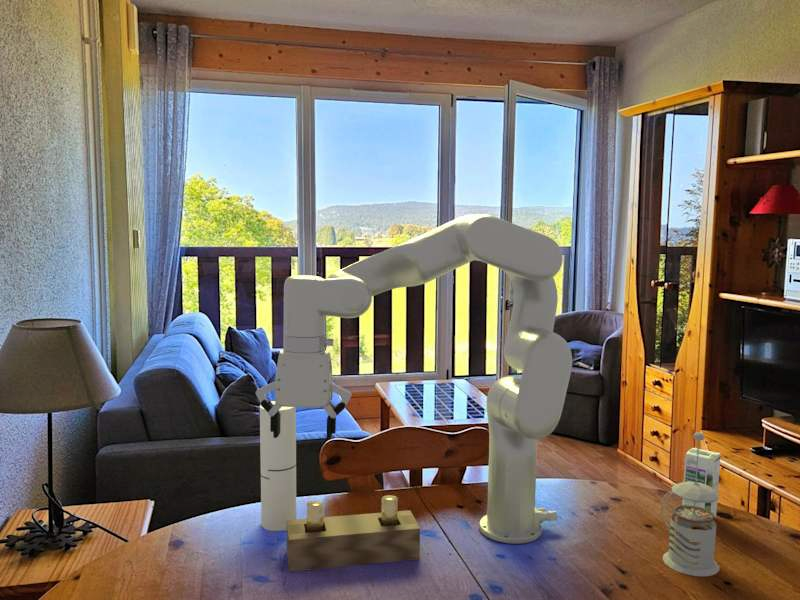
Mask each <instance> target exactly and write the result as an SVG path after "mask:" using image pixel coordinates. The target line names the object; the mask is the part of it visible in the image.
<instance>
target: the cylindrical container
mask: <svg viewBox="0 0 800 600" xmlns="http://www.w3.org/2000/svg"><path fill="white" fill-rule="evenodd" d="M270 402H271V403H272V404H273V405H274V404H275V403H276V402H275V400H273V401H271V400H270ZM279 412H280V414H281V419H280V434H279V436H278V437H277V438H274V437H273V432H271V431H270V423H271V416H269V414H268V412H267V411H266V410H265V409H264V408H263V407H262V406H261V404H260V405H259V441H260V445H259V450H260V453H259V455H260V456H259V457H260V511H261V512H260V513H261V514H260V515H261V516H260V520H261V521H260V522H261V524H260V525H261V527H262V528H263V529H265V530H266V531H271V532H281V531H282V532H283V531H287V520H297V436H296V435H297V431H296V429H297V423H296V420H297V417H296V414H297V413H296V412H297V407H284V406H282V407H281V408H280V409H279Z"/></svg>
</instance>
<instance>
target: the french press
mask: <svg viewBox="0 0 800 600" xmlns="http://www.w3.org/2000/svg"><path fill="white" fill-rule="evenodd" d="M692 438H693V439H694V440H696V441H697V448H698V449H697V464H696V480H695V482H691V481H688V482H684V481H683V482H679V483H676V484H674V485H672V487H671V491H669V492H667V493H665V494H664V496H663V497H662V499H661V506H660V510H661V515H662V519H663V520H664V523H665V524H666V526H667V527H668V528H669V541H668V542H669V543H668V550H667V552H664V554H663V556H662V561H663V562H664V564H665V565H666V566H668V567H669V568H670V569H672V570H674V571H676V572H678V573H681V574H684V575H689V576H694V577H710V576H713V575H716V574H717V573H719V571H720V565H719V564H718V563H717V561H716V559H715V558H714V557H715V550H716V545H715V544H716V536H717V535H716V534H717V522H716V521H715V519H716V517H715V515H714V514H713V513H712V512H711V511H709V510H707V509H704V508H701V507H698V506H697V507H696V506H695V502H697V503H711V502H715V501H717V502H718V501H719V499H720V494H719V492H718V493H717V492H716V491H715V490H714V489H712V488H711V487H710V486H707V485H705V484H702V483H698V482H697V468H698V453H699V449H700V448H699V447H700V441H704V440H705V435H704V434H703V432H699V431H697V432H694V434H693V436H692ZM668 495H669V496H668ZM672 495H673V499H674V500H679V499H682V500H683V499H686V500H689V501H693V502H694V506H692V505H682V504H680V505H675V506H674V507H673V509H672V512H673V514H671V513H670V507H669V506H670V498H671V496H672ZM667 496H668V498H667V504H666V506H667V507H666V508H667V509H666V510H667V512H668V513H667V514H668V518H669V519H670V520H669V521H670V522H669V523H670V525H669V524H668V522H667V520H666V519H665V516H664V511H663V508H664V507H663V505H664V503H663V502H664V500H665V498H666V497H667ZM676 496H677V497H676ZM676 517H677V522H675V521H676V519H675V518H676ZM702 523H708V524H709V525H705V524H702ZM708 526H709V527H710V528H709V527H708ZM691 527H692V528H693V527H702V528H703V529H704V530H703V529H700V528H693V529H692V528H691ZM675 530H676V531H675ZM689 541H690V542H689ZM674 544H675V545H674Z"/></svg>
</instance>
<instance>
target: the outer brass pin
mask: <svg viewBox="0 0 800 600" xmlns="http://www.w3.org/2000/svg"><path fill="white" fill-rule="evenodd" d="M323 517H324V502H323V501H320V500H312V501H309V502H307V503H306V519H307V533H311V532H323Z"/></svg>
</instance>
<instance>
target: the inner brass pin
mask: <svg viewBox="0 0 800 600" xmlns="http://www.w3.org/2000/svg"><path fill="white" fill-rule="evenodd" d="M398 501H399V499H398V497H397V496H395V495H392V494H391V495H390V494H388V495H387V494H386V495H384V496H382V497H381V512H380V513H381V526H393V525H397V511H398Z"/></svg>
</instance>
